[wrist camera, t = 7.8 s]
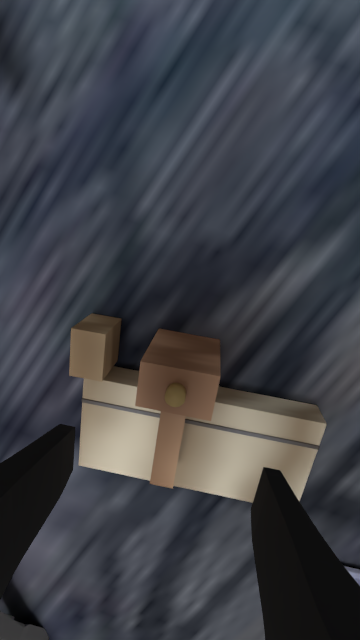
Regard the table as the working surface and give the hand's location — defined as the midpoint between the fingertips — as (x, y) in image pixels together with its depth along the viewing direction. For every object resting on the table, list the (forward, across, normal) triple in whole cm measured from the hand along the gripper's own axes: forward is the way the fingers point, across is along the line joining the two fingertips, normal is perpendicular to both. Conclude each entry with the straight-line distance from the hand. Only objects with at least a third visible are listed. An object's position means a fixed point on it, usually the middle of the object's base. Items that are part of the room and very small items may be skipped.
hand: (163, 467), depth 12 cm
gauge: (+9, 0, +2) cm, 10 cm away
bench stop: (+9, +6, -1) cm, 11 cm away
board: (+9, -1, +5) cm, 11 cm away
